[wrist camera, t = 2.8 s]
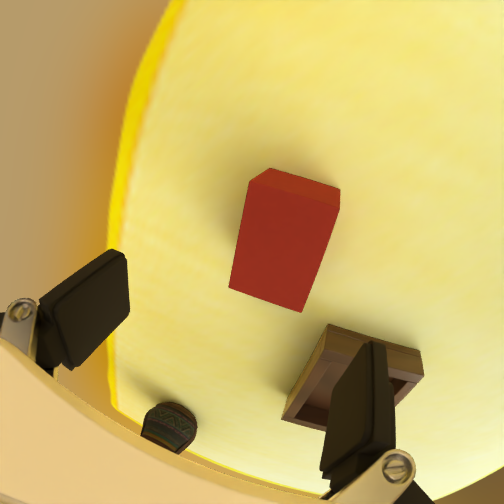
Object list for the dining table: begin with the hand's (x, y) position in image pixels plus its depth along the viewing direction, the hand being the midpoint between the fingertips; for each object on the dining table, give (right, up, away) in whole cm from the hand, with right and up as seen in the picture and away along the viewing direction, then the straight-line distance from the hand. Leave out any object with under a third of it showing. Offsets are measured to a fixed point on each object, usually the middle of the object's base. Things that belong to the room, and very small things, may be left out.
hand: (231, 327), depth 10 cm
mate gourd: (-9, -20, +25) cm, 33 cm away
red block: (+3, +4, +8) cm, 10 cm away
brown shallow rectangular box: (+9, -9, +13) cm, 18 cm away
